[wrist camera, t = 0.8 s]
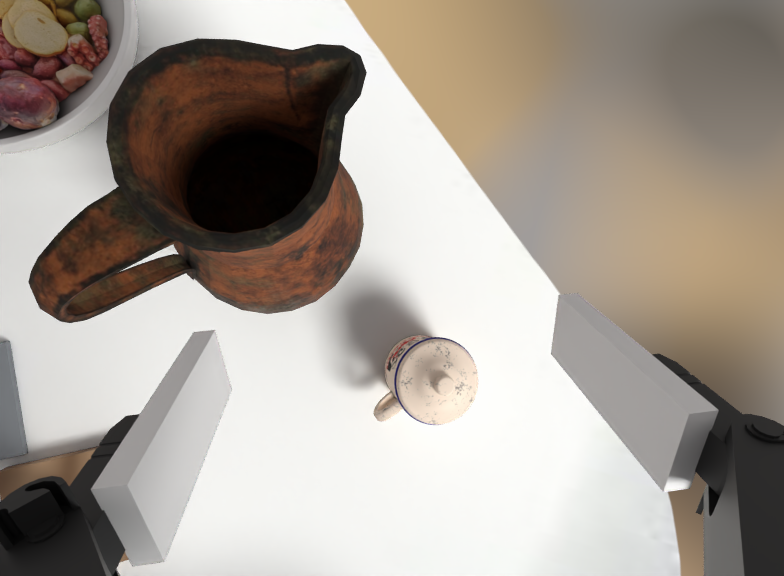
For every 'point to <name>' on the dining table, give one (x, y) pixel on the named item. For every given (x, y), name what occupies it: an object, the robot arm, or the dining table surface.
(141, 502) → the robot arm
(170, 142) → the pitcher
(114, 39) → the bowl
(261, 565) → the dining table surface
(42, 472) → the hook stand
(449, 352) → the teacup with lid
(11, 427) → the coaster
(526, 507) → the dining table surface
